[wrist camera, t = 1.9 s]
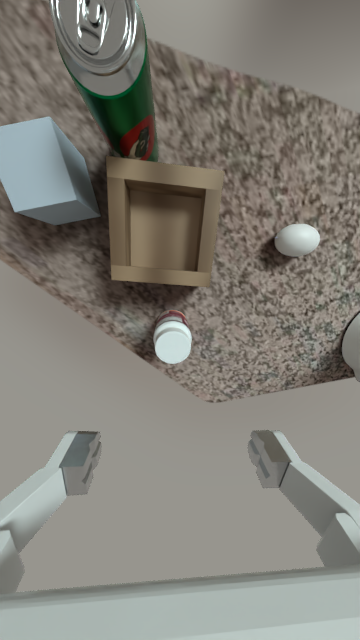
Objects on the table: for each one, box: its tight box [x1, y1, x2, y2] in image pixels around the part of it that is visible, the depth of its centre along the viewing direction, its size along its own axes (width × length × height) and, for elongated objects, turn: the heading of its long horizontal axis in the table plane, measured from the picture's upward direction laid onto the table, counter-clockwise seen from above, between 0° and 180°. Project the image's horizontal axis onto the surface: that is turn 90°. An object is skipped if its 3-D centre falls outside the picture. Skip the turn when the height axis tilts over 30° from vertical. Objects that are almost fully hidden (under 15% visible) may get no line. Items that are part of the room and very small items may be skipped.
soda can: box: [49, 0, 158, 162], centre depth 14 cm, size 5×5×12 cm
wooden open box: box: [106, 156, 225, 287], centre depth 20 cm, size 11×11×6 cm
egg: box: [275, 224, 320, 257], centre depth 22 cm, size 4×6×4 cm, turn 83°
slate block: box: [0, 116, 101, 225], centre depth 18 cm, size 6×6×6 cm
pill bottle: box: [153, 310, 192, 364], centre depth 23 cm, size 5×5×8 cm
